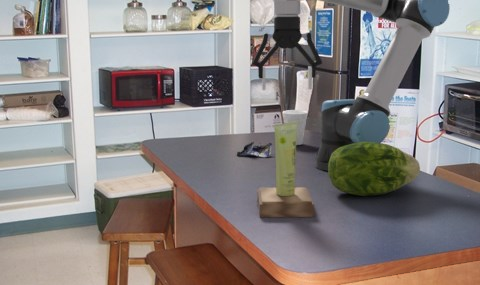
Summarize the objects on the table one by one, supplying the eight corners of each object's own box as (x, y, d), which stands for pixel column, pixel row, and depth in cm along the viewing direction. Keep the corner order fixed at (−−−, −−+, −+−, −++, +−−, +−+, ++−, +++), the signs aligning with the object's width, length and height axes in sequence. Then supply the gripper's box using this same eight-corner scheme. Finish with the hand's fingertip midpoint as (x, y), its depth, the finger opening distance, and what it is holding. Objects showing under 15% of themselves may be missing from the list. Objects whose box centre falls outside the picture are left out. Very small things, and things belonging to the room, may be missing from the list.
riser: (307, 200, 176) (307, 186, 175) (313, 216, 162) (314, 202, 161) (257, 200, 175) (257, 187, 175) (259, 217, 162) (259, 202, 161)
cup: (308, 147, 243) (309, 113, 240) (282, 147, 243) (283, 113, 241) (306, 141, 253) (306, 109, 250) (281, 141, 253) (281, 109, 250)
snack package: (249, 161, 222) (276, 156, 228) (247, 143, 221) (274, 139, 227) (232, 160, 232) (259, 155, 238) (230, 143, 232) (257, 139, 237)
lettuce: (427, 200, 176) (431, 146, 173) (335, 203, 173) (337, 149, 170) (407, 185, 191) (410, 135, 187) (322, 188, 188) (323, 137, 184)
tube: (292, 198, 164) (293, 125, 160) (273, 196, 166) (274, 124, 162) (296, 192, 170) (297, 121, 166) (278, 190, 171) (279, 120, 167)
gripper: (327, 15, 184) (326, 86, 189) (243, 16, 183) (244, 88, 188) (332, 15, 177) (331, 90, 181) (244, 16, 176) (245, 91, 180)
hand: (286, 89), depth 184 cm, fingers open, 13 cm apart
